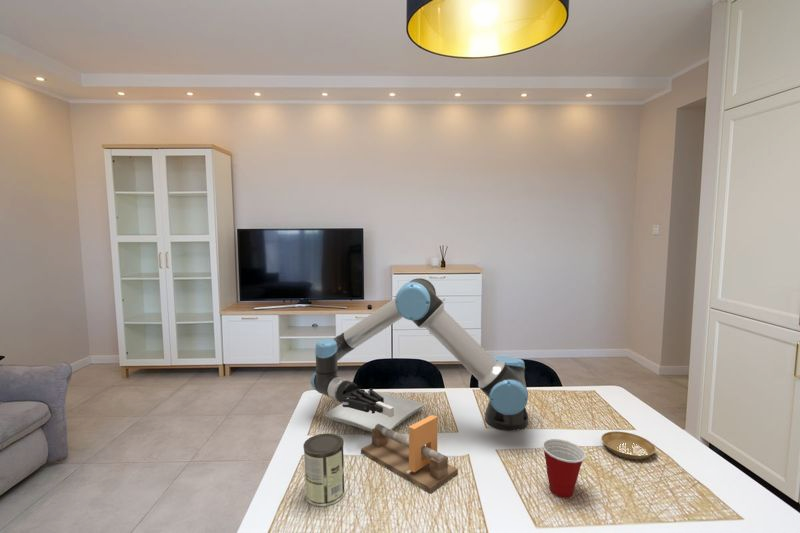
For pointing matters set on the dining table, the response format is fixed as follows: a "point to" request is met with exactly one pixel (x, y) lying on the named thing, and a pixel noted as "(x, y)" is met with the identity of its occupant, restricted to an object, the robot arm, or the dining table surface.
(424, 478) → the pipe stand
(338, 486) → the coffee can
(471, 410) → the dining table surface
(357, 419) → the square plate
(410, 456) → the upright orange slab
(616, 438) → the plant saucer
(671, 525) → the dining table surface
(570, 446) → the plastic cup
